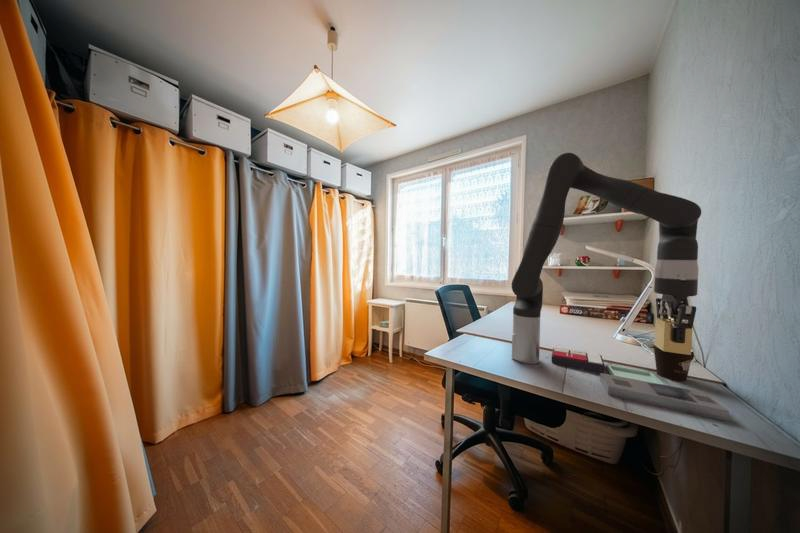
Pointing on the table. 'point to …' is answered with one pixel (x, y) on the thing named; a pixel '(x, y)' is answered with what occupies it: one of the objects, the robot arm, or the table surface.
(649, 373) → the tray
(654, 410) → the table surface
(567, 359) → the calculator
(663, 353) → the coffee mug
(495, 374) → the table surface
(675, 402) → the rail
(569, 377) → the table surface
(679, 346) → the tan holed block
